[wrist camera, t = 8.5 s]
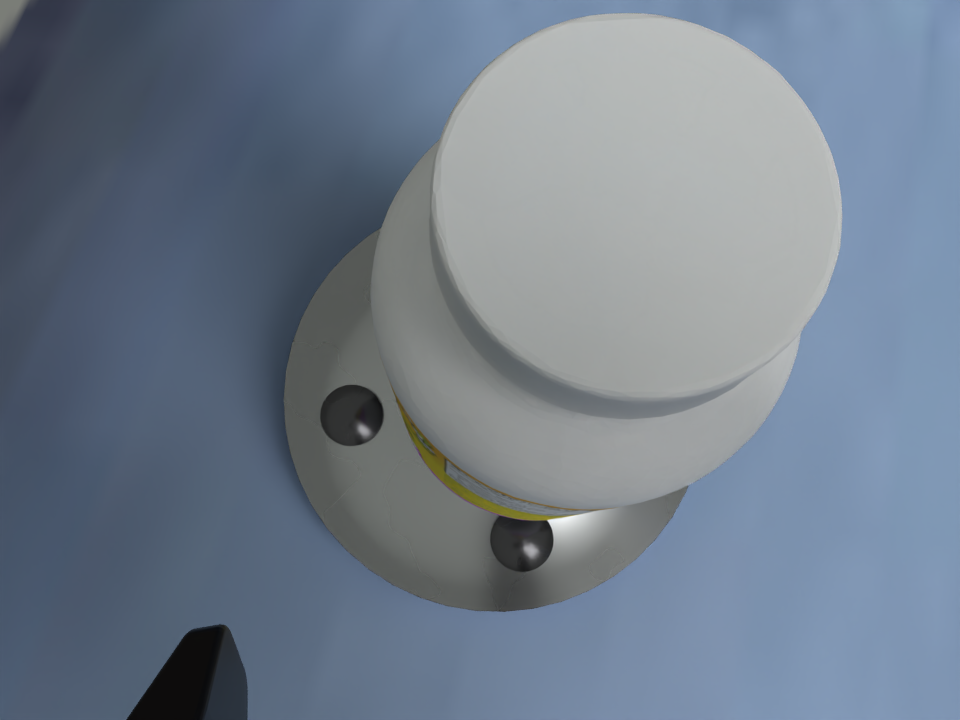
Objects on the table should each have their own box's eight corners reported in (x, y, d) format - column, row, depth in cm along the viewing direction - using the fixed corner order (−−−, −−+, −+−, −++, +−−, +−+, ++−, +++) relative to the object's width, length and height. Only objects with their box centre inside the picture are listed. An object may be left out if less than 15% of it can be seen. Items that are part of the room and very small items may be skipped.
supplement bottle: (443, 242, 23) (443, -136, 10) (678, 311, 22) (977, 15, 10) (366, 481, 21) (255, 386, 9) (618, 556, 21) (878, 572, 8)
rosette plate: (733, 569, 22) (747, 570, 21) (317, 643, 21) (311, 648, 20) (647, 186, 24) (656, 170, 23) (269, 239, 23) (261, 225, 22)
